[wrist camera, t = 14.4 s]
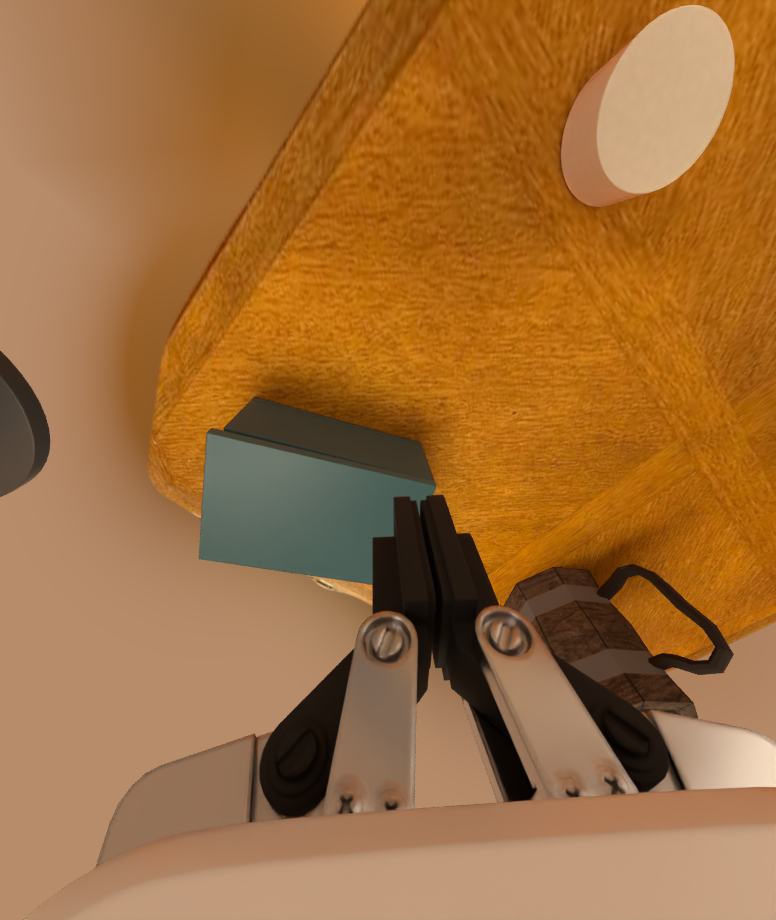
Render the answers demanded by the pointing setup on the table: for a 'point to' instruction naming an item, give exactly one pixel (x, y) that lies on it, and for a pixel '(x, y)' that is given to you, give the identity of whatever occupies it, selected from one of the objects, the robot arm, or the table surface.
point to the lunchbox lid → (296, 508)
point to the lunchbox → (329, 437)
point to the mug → (612, 635)
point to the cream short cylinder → (649, 108)
